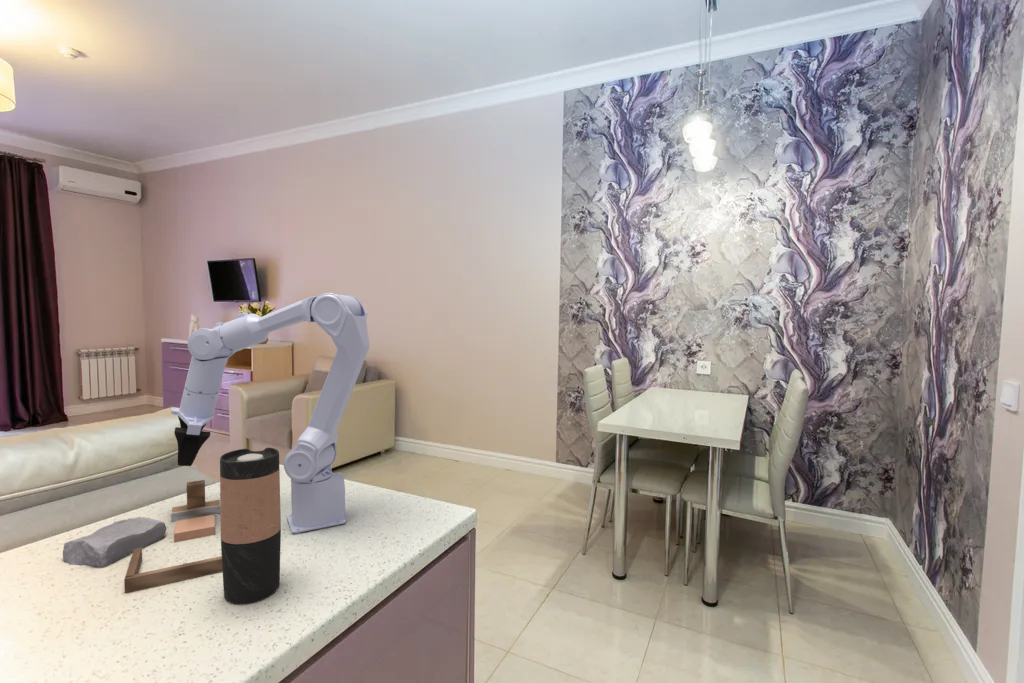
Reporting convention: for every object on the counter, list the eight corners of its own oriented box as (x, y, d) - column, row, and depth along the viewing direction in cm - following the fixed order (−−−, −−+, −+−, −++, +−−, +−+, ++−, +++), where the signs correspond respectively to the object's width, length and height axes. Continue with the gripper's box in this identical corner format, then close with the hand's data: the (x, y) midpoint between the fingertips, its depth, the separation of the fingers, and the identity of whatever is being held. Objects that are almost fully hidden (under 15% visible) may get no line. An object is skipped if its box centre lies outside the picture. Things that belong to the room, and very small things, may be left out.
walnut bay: (247, 538, 87) (247, 527, 87) (251, 564, 78) (251, 552, 78) (134, 560, 79) (134, 548, 79) (124, 593, 70) (124, 579, 70)
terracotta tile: (214, 524, 94) (214, 514, 94) (214, 537, 89) (214, 526, 89) (176, 531, 91) (175, 520, 91) (174, 545, 86) (173, 533, 85)
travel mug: (240, 612, 66) (238, 465, 65) (210, 594, 70) (207, 456, 69) (292, 586, 73) (291, 452, 71) (262, 570, 77) (260, 444, 76)
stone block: (55, 574, 78) (105, 569, 76) (50, 544, 78) (100, 538, 76) (127, 543, 90) (172, 538, 88) (123, 517, 90) (168, 511, 88)
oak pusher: (219, 506, 102) (219, 477, 101) (220, 514, 98) (219, 484, 97) (172, 514, 98) (171, 484, 97) (171, 523, 94) (170, 492, 93)
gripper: (179, 376, 98) (164, 440, 99) (174, 398, 86) (156, 471, 87) (219, 381, 102) (204, 443, 103) (220, 403, 90) (203, 473, 91)
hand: (185, 456), depth 95 cm, fingers open, 7 cm apart
